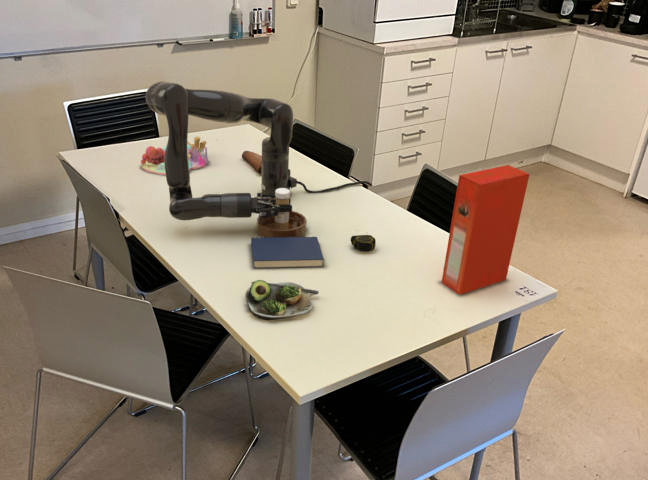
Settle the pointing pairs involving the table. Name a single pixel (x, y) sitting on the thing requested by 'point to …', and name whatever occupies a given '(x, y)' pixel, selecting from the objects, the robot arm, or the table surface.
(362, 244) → the tape measure
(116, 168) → the table surface
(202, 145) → the colorful candy landscape
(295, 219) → the bowl
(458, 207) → the file binder
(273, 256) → the book
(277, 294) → the salad plate
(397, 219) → the table surface
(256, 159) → the sunglasses case
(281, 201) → the sprinkles bottle
